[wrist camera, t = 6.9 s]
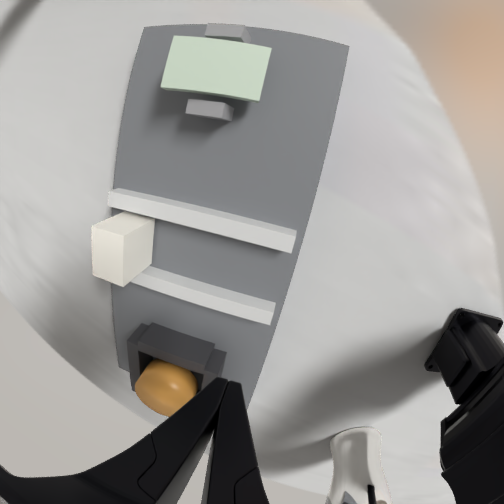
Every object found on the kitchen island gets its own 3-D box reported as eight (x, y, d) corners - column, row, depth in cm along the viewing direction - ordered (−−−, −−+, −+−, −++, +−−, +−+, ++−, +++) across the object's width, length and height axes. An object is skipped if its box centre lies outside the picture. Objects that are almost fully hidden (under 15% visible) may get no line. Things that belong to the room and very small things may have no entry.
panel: (344, 56, 14) (356, 29, 10) (249, 397, 25) (240, 433, 21) (157, 35, 15) (124, 15, 11) (128, 355, 26) (106, 383, 22)
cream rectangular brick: (155, 218, 17) (123, 235, 14) (151, 263, 18) (123, 287, 15) (124, 211, 17) (91, 226, 14) (123, 254, 19) (92, 275, 15)
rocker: (269, 53, 12) (271, 47, 11) (258, 103, 13) (259, 100, 12) (178, 41, 12) (173, 35, 11) (165, 89, 13) (160, 87, 12)
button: (200, 370, 19) (190, 392, 17) (196, 402, 21) (187, 423, 19) (147, 350, 20) (132, 370, 17) (148, 385, 21) (136, 404, 19)
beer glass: (372, 453, 26) (375, 553, 12) (319, 452, 27) (310, 559, 13) (394, 423, 24) (408, 541, 10) (335, 423, 24) (330, 552, 11)
